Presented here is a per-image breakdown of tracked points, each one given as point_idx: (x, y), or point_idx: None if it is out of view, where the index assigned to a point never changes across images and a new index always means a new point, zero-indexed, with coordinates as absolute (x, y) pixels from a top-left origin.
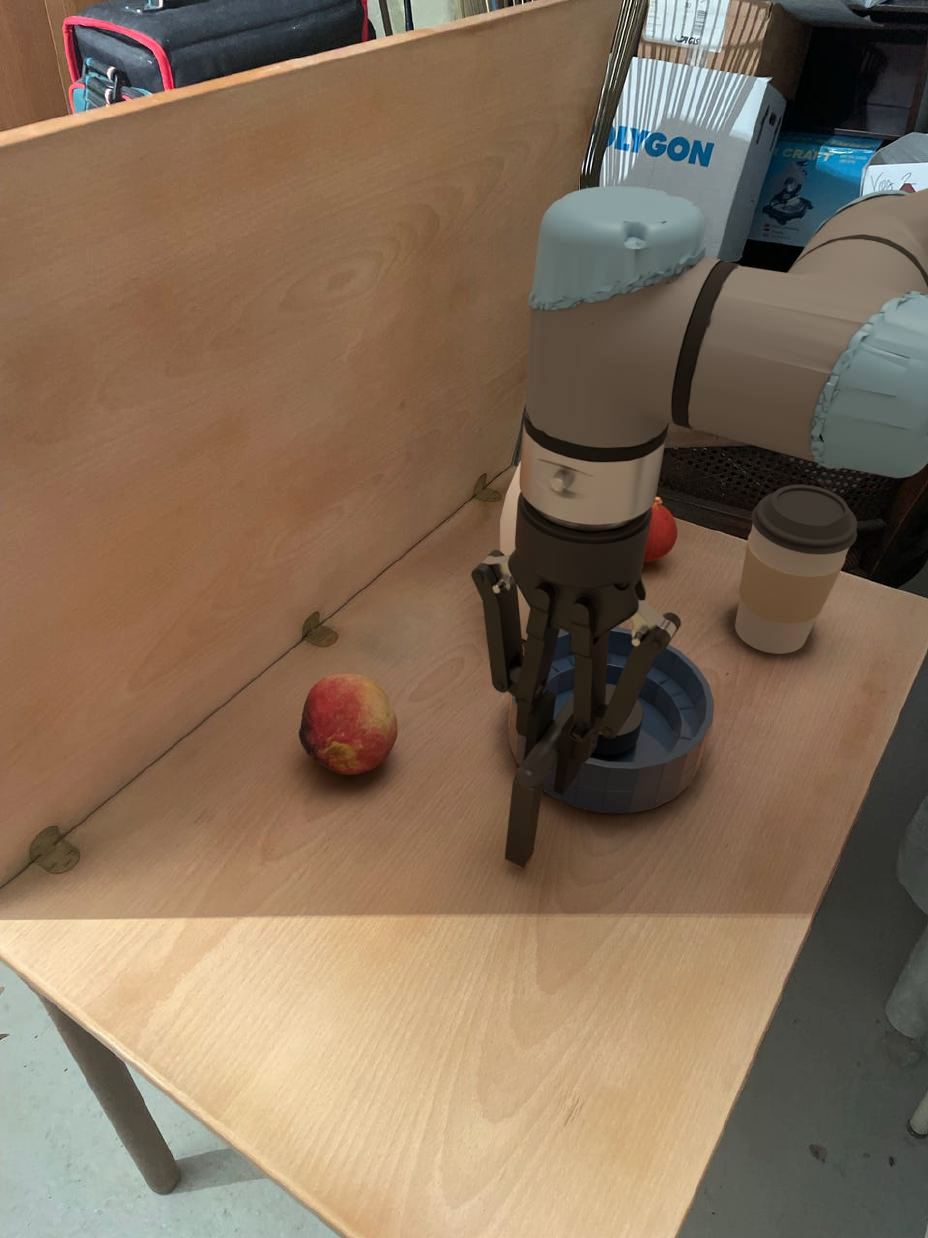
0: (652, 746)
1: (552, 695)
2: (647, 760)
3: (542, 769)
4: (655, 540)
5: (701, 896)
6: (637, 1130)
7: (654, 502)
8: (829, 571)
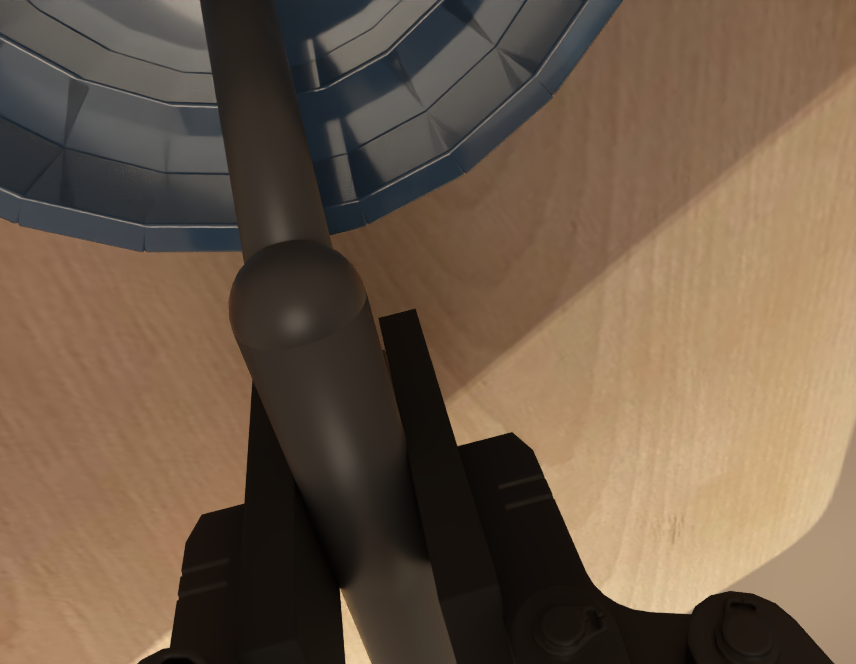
0: None
1: (289, 654)
2: (566, 30)
3: (448, 646)
4: None
5: (742, 108)
6: (759, 491)
7: None
8: None
